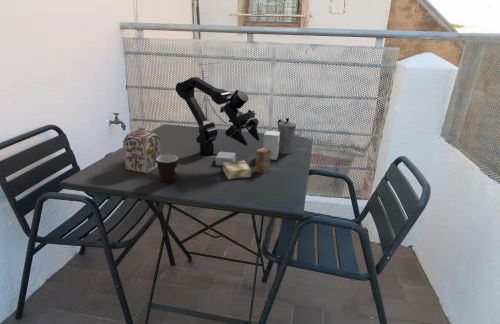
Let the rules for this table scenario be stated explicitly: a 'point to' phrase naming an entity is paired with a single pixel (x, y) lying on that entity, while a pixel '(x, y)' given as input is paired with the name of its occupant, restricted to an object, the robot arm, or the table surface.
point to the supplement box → (272, 143)
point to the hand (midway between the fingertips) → (252, 142)
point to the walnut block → (262, 160)
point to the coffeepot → (286, 136)
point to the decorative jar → (141, 150)
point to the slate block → (225, 157)
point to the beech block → (236, 169)
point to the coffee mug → (167, 168)
